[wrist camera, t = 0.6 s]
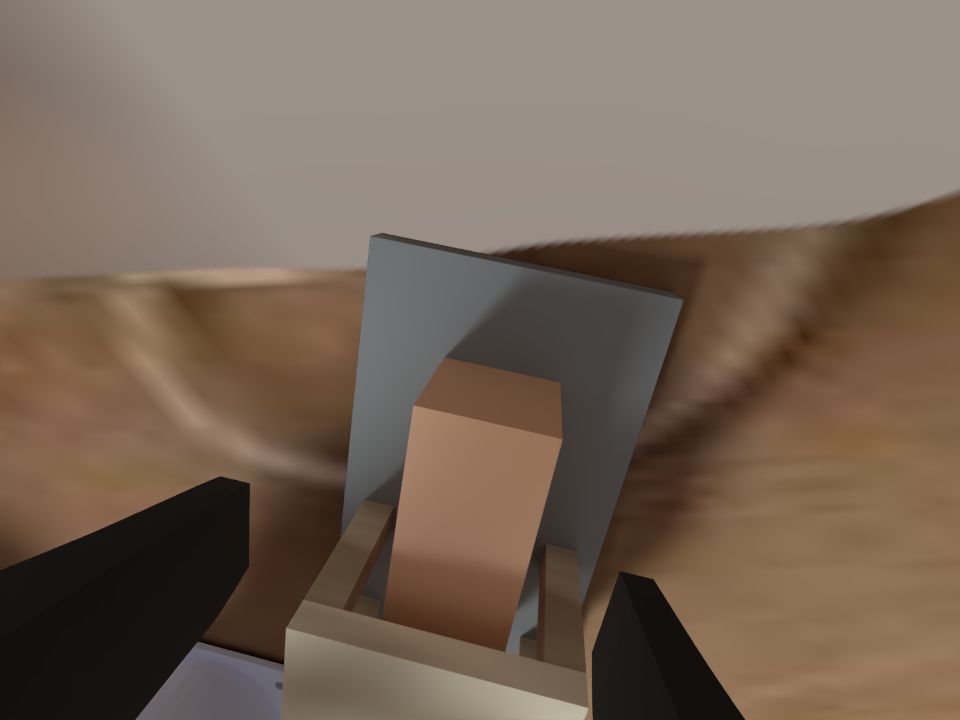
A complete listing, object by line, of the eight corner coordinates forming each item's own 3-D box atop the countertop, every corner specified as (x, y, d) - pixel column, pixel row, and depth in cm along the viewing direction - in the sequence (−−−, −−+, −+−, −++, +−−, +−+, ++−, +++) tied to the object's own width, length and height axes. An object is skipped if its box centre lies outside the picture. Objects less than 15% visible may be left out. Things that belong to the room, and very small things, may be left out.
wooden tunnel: (542, 664, 21) (539, 841, 15) (350, 614, 21) (278, 767, 16) (577, 551, 19) (588, 708, 13) (364, 499, 19) (286, 627, 14)
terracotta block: (497, 624, 20) (485, 723, 17) (404, 600, 21) (371, 692, 17) (560, 382, 17) (562, 439, 13) (444, 357, 17) (413, 405, 13)
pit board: (536, 720, 23) (535, 747, 22) (335, 666, 24) (325, 690, 23) (674, 292, 16) (683, 300, 15) (382, 233, 17) (370, 236, 16)
